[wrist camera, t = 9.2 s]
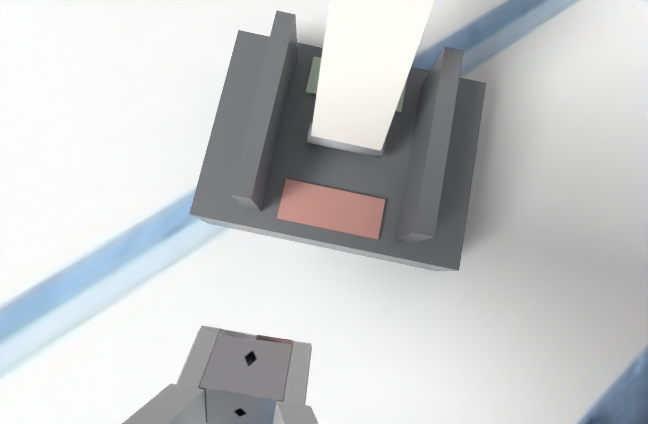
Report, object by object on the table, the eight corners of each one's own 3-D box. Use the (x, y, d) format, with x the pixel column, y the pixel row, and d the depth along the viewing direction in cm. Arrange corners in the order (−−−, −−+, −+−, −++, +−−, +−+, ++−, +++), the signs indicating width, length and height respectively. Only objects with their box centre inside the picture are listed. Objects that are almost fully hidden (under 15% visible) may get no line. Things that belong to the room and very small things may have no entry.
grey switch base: (435, 270, 26) (492, 270, 18) (207, 223, 26) (163, 201, 18) (460, 109, 28) (521, 45, 20) (248, 64, 28) (224, -19, 20)
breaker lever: (382, 170, 22) (497, -128, 11) (300, 153, 21) (336, -163, 11) (385, 141, 23) (489, -146, 12) (308, 125, 23) (346, -178, 12)
